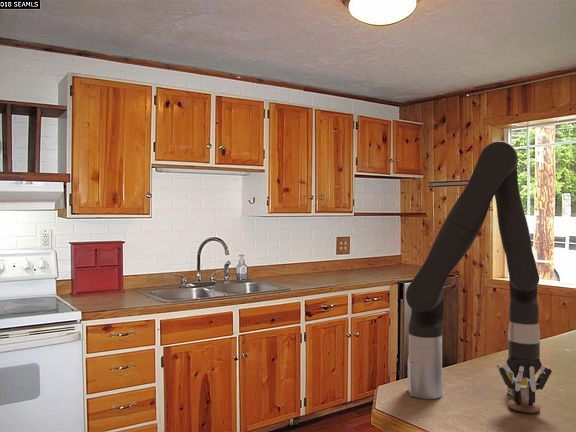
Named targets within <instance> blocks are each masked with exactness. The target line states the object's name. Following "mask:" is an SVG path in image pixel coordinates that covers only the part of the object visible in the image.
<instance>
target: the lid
mask: <svg viewBox="0 0 576 432" xmlns="http://www.w3.org/2000/svg"><path fill="white" fill-rule="evenodd" d="M519 391H520V405H517V404H516V403H515V402H514V401H513V398H512V399H509V400H508V402H507V404H508V407H509V408H510V409H511V410H513V411H516V412H520V413H526V414H534V413H535V414H536V413H539V412H540V411H541V405H540V404H539V403H538V402H536V401H535V403H533V405H529V387H528V386H523V385H521V386H520V390H519Z"/></svg>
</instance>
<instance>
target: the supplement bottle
mask: <svg viewBox="0 0 576 432" xmlns="http://www.w3.org/2000/svg"><path fill="white" fill-rule="evenodd" d="M507 375H508V377H509V379H510V381H511V383H512V382H513V372H512V371H511V370H510V368H508V373H507ZM521 385H523V386H528V383H527V379H526V378H522V382H521ZM521 385H520V386H521ZM507 393H508V394H509V395H510V396H512V397H513V389H510V388H508V387H507Z"/></svg>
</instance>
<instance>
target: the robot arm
mask: <svg viewBox="0 0 576 432" xmlns="http://www.w3.org/2000/svg"><path fill="white" fill-rule="evenodd" d="M518 163H519V157H518V152H517V151H516V149H515V147H513V145H511V144H510V143H508V142H507V141H501V140H499V141H492V142H490V143H488V144H487V145H486V146H485V147H484V148H483V149H482V150H481V152H480V154H479V155H478V159H477V161H476V164H475V167H474V169H473V171H472V173H471V176H470V178H469V180H468V183H467V184H466V186H465V188H464V190H462V192H461V194H460V195H459V196H458V198H457V199H456V201H455V202H454V203H453V204H454V205H453V206H452V208H451V209H450V211H449V213H448V214H447V216H446V218H445V220H444V222H443V223H442V224H441V225H442V226H441V227H440V229H439V231H438V233H437V235H436V236H435V237H436V238H435V239H434V241H433V243H432V246H431V248H430V250H429V252H428V255H427V258H426V259H425V261H424V263H423V264H422V266H421V267H420V269H419V270H418V272H417V273H416V275H415V276H414V278H413V279H412V280H411V282H410V283H409V285H408V286H407V288H406V291H405V300H406V303H407V305H408V307H409V308H410V309H411V313H410V320H409V323H408V357H407V391H408V393H409V396H410V397H414V398H418V399H422V400H423V399H424V400H435V399H440V398H441V397H442V396H443V325H444V316H445V315H444V313H445V312H444V311H445V309H444V308H445V307H444V306H445V303H444V302H445V294H444V286H445V284H446V282H447V280H448V278H449V276H450V275H451V273H452V272H453V270H454V269H455V268H456V266H457V265H458V264H459V263H460V261H461V260H462V259H463V258H464V256H465V255H466V253H468V251H469V249H470V248H471V247H472V245H473V243H474V241H475V240H476V238H477V236H478V234H479V232H480V230H481V228H482V227H483V224H484V222H485V219H486V217H487V214H488V212H489V208H490V206H491V202H492V201H493V199H495V205H496V207H495V208H496V214H497V216H496V217H497V223H498V230H499V234H500V239H501V246H502V248H503V251H504V255H505V257H506V259H505V260H506V265H507V266H506V267H507V272H508V278H509V283H508V284H509V296H510V299H509V300H510V301H509V311H508V313H509V315H508V316H509V319H508V320H509V321H508V322H509V323H508V330H507V338H508V339H507V340H508V341H507V342H508V345H507V347H508V354H507V355H508V356H507V357H508V358H507V359H506V363H504V364H497V365H496V368H497V370H498V372H499V374H500V376H501V379H502V381H503V382H504V385H505V386H506V388H507V389H508V388H510V389H513V396H512V399H513V401H514V402H515V403H516V404H517V405H520V391H519V390H520V385H521V382H522V378H526V379H527V383H528V387H529V405H533V403H535V402H536V391H538V390H541V391H542V390H543V389H544V387H545V386H546V384H547V382H548V380H549V377H550V376H551V374H552V371H553V370H552V368H550V367H548V366H547V365H543V364H542V362H541V359H540V358H541V355H540V354H541V345H540V344H541V339H540V338H541V333H540V321H539V319H540V317H539V315H540V312H539V311H540V310H539V304H538V285H539V282H540V274H539V269H538V266H537V263H536V259H535V256H534V253H533V245H532V244H533V243H532V239H531V234H530V229H529V224H528V221H527V218H526V213H525V209H524V206H523V202H522V198H521V194H520V187H519V182H518V181H519V178H518ZM508 368H510V370H511V371H512V372H513V382H512V383H511V381H510V379H509V377H508V375H507V373H508ZM538 372H540V373H539V375H538V377H537V379H536V375H537V373H538Z"/></svg>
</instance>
